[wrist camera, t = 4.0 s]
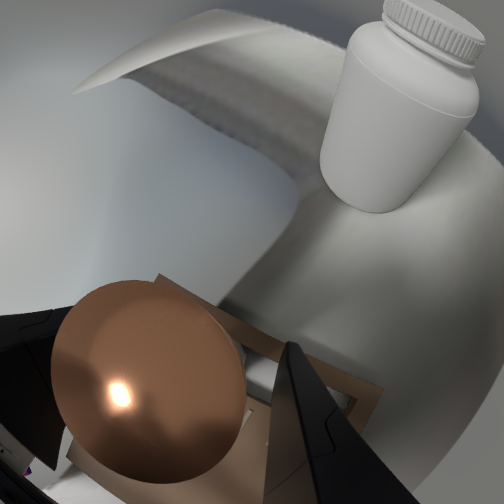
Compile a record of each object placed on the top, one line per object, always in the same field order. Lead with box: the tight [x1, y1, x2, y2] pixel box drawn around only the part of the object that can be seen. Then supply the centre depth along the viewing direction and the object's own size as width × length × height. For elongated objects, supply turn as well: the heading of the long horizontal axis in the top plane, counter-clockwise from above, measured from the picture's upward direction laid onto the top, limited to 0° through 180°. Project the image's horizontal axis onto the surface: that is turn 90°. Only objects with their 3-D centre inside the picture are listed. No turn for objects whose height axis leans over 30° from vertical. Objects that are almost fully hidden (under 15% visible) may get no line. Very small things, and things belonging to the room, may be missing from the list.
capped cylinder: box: [51, 280, 248, 484], centre depth 10 cm, size 4×4×13 cm
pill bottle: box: [320, 0, 486, 213], centre depth 13 cm, size 8×8×15 cm
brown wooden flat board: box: [66, 273, 384, 504], centre depth 14 cm, size 16×16×1 cm
